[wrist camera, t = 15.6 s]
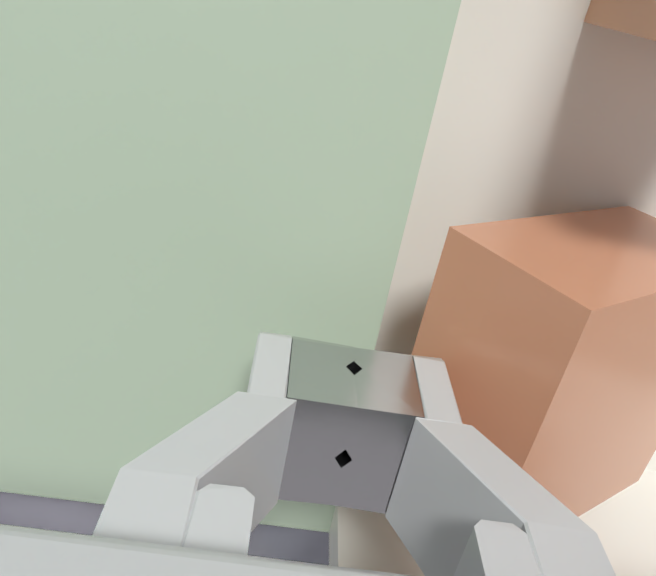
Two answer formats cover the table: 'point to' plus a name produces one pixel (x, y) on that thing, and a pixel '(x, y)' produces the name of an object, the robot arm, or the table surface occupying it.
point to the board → (192, 209)
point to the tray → (522, 198)
